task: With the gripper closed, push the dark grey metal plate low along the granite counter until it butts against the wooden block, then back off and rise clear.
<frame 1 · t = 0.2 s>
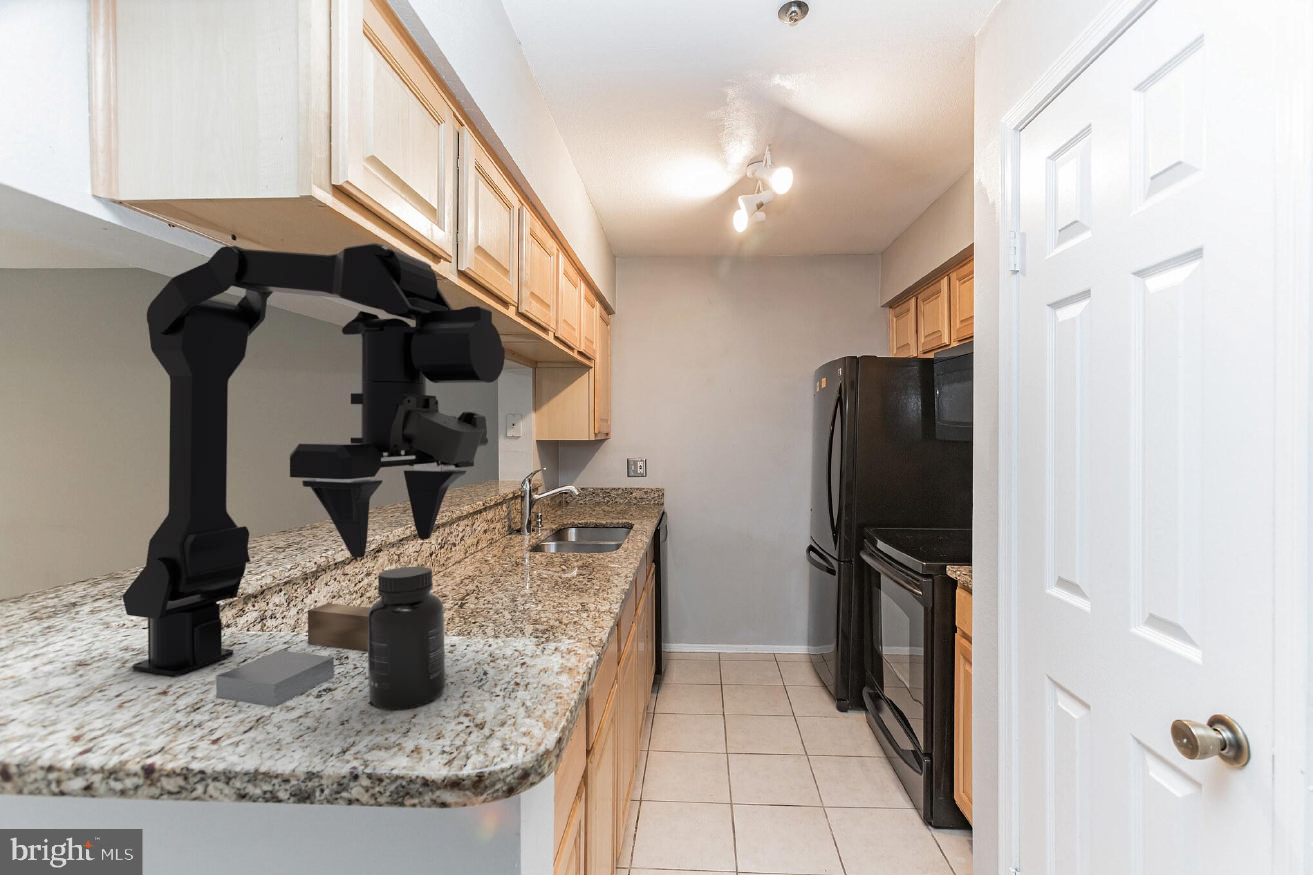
hand: (393, 547, 58), 14 cm above the counter, tool pointing down, fingers open, 9 cm apart
supplement bottle: (407, 697, 58), on the counter
grey metal plate: (277, 690, 60), on the counter
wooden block: (366, 645, 72), on the counter
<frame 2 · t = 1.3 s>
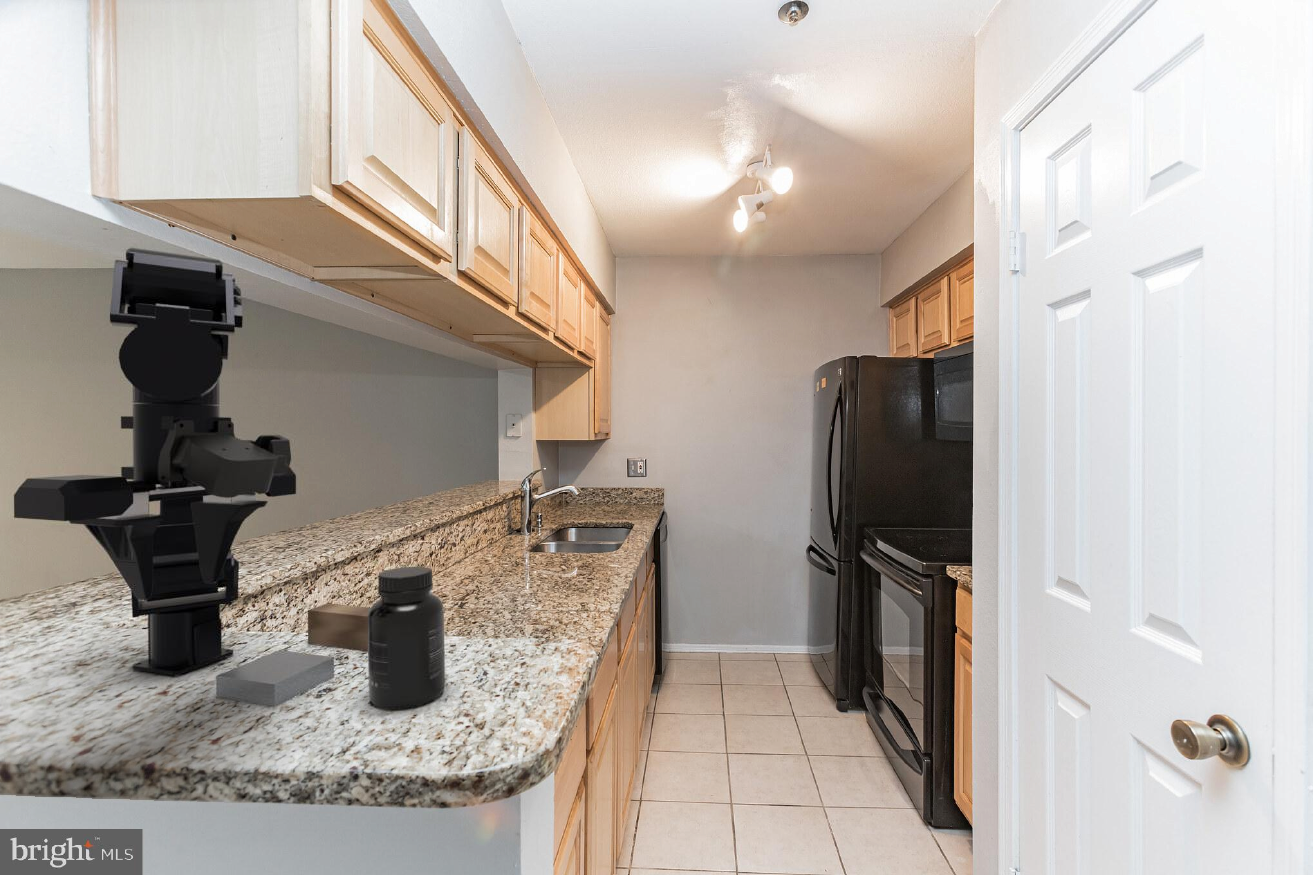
hand: (178, 590, 51), 12 cm above the counter, tool pointing down, fingers open, 5 cm apart
nothing on the counter moved.
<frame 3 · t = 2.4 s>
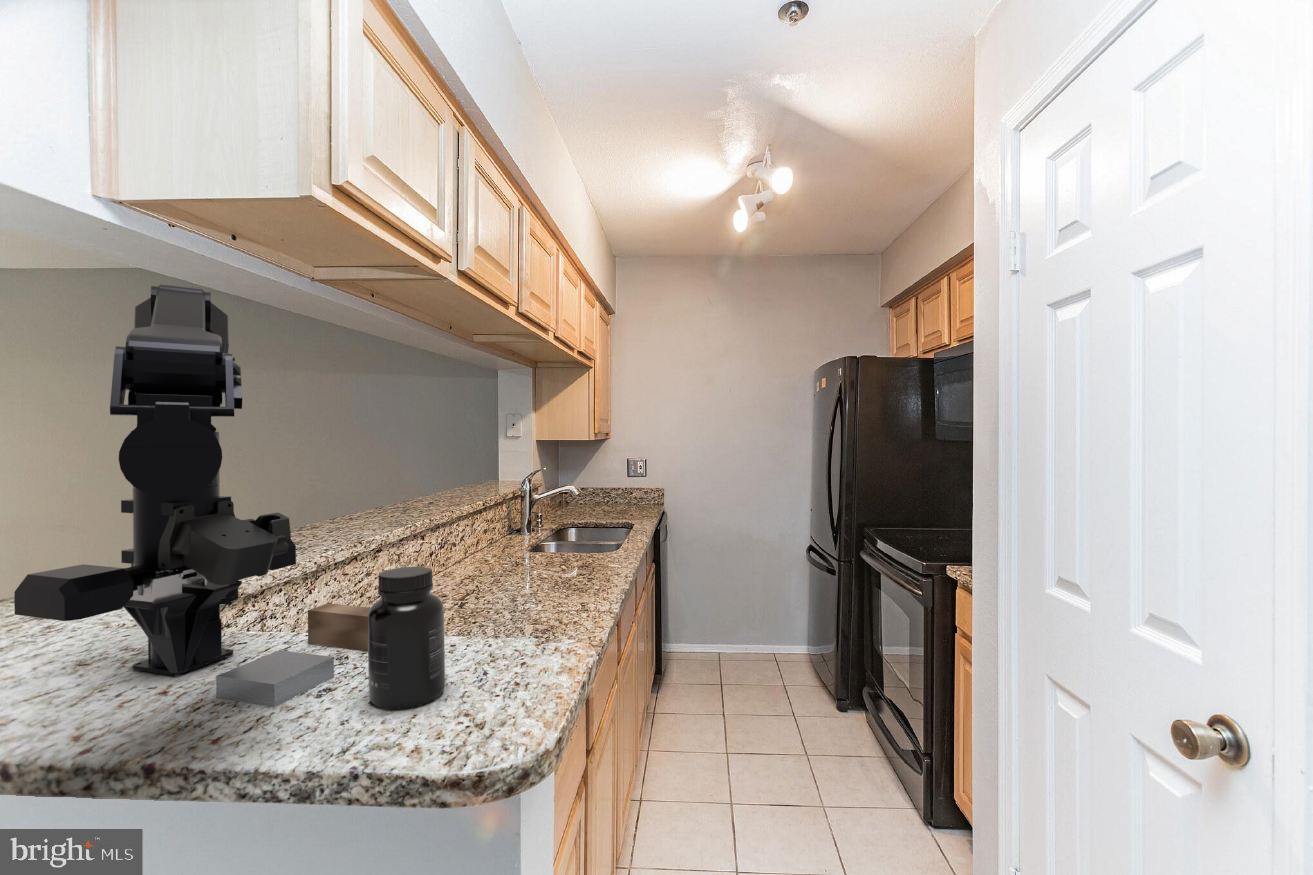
hand: (178, 671, 51), 5 cm above the counter, tool pointing down, fingers closed
nothing on the counter moved.
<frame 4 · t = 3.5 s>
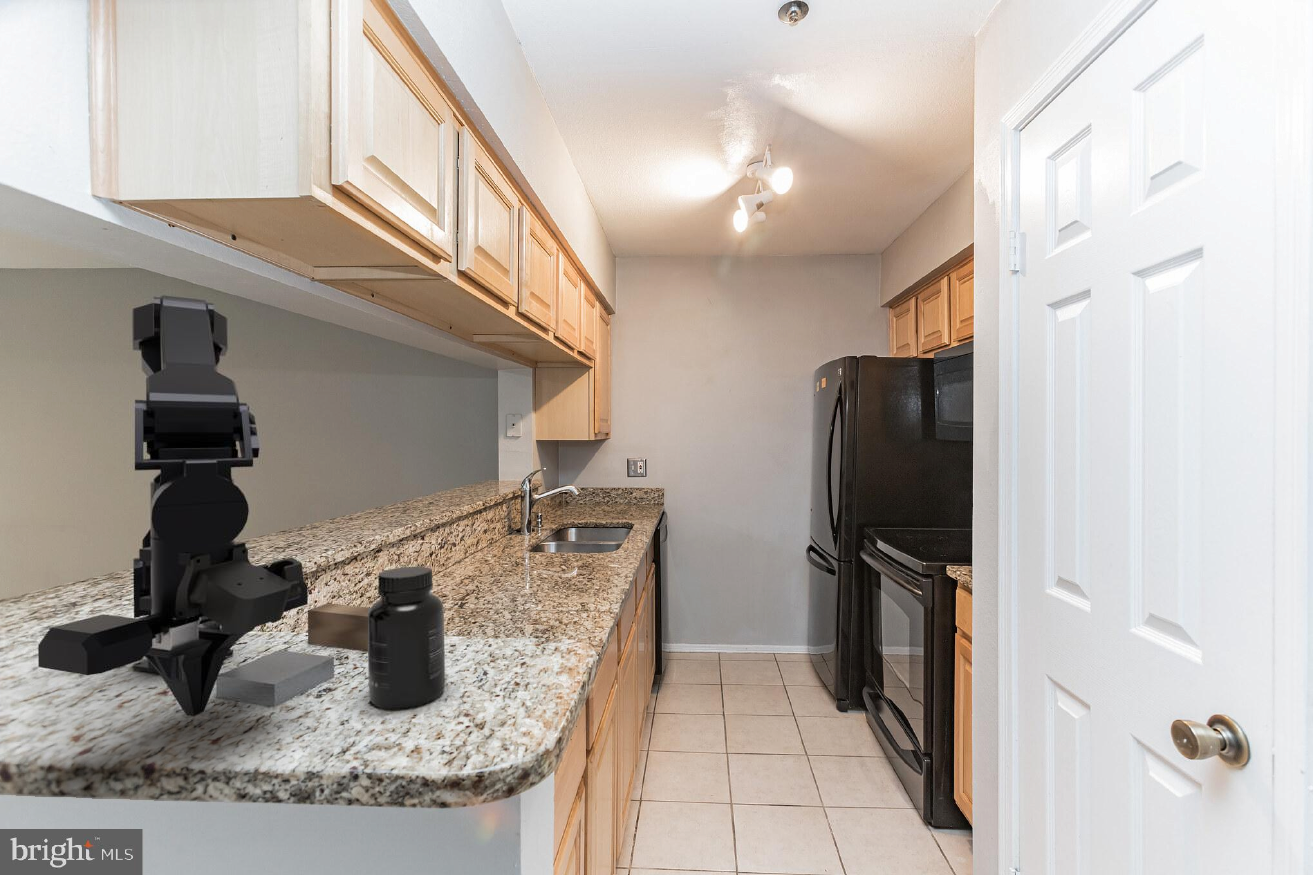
hand: (194, 713, 52), 1 cm above the counter, tool pointing down, fingers closed
nothing on the counter moved.
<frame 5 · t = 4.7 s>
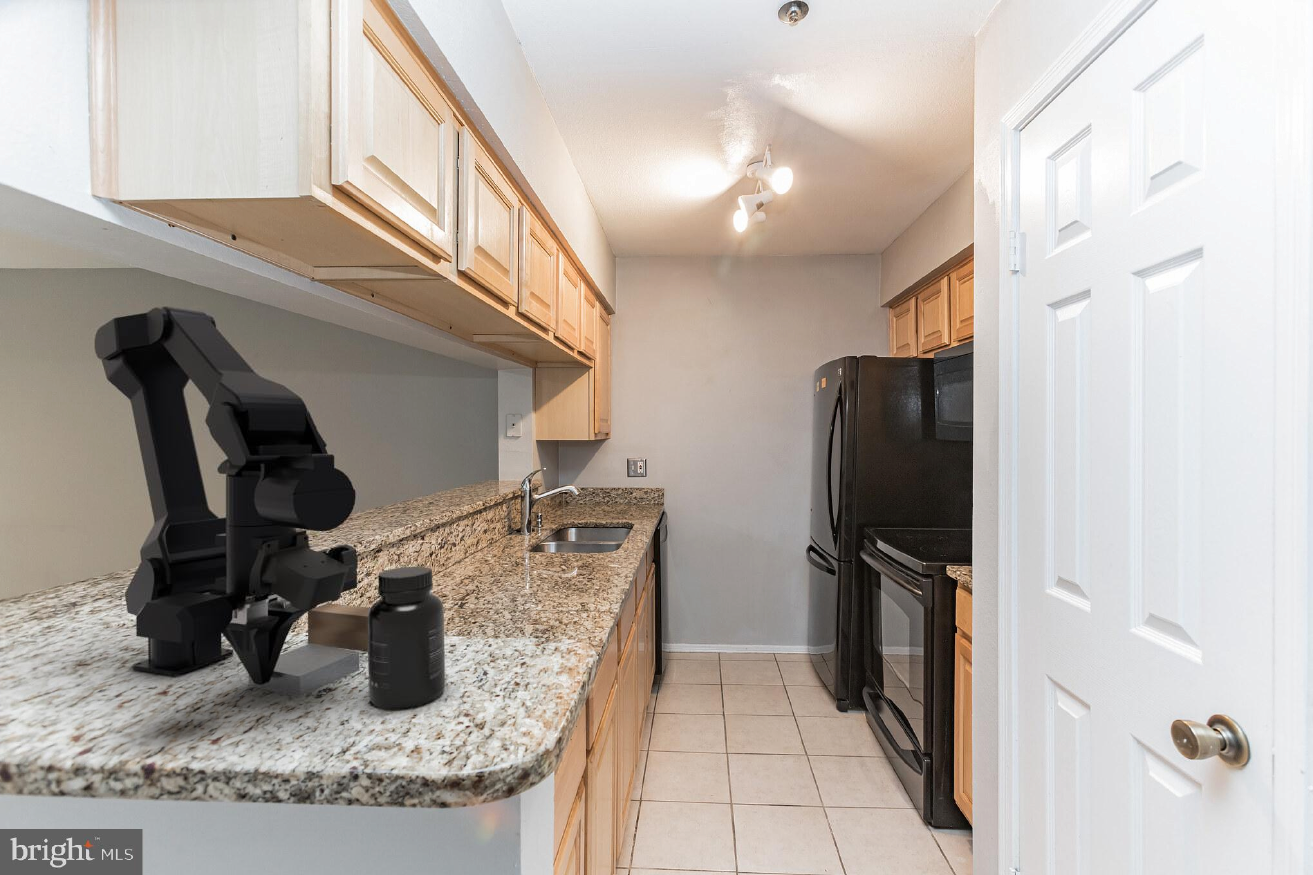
hand: (262, 683, 58), 1 cm above the counter, tool pointing down, fingers closed
grey metal plate: (305, 682, 62), on the counter
everything else where it was.
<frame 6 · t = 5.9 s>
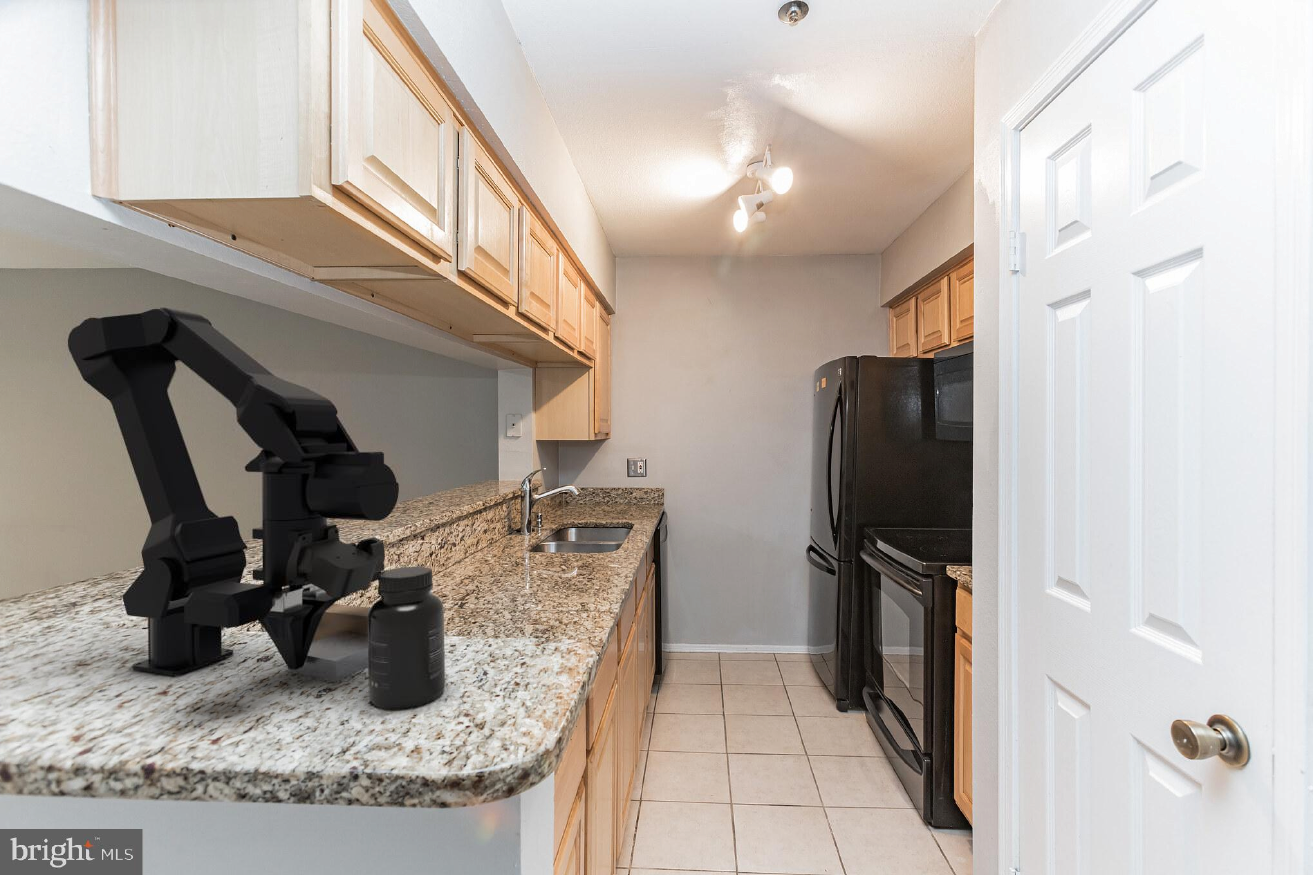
hand: (296, 668, 62), 1 cm above the counter, tool pointing down, fingers closed
grey metal plate: (340, 667, 66), on the counter
everything else where it was.
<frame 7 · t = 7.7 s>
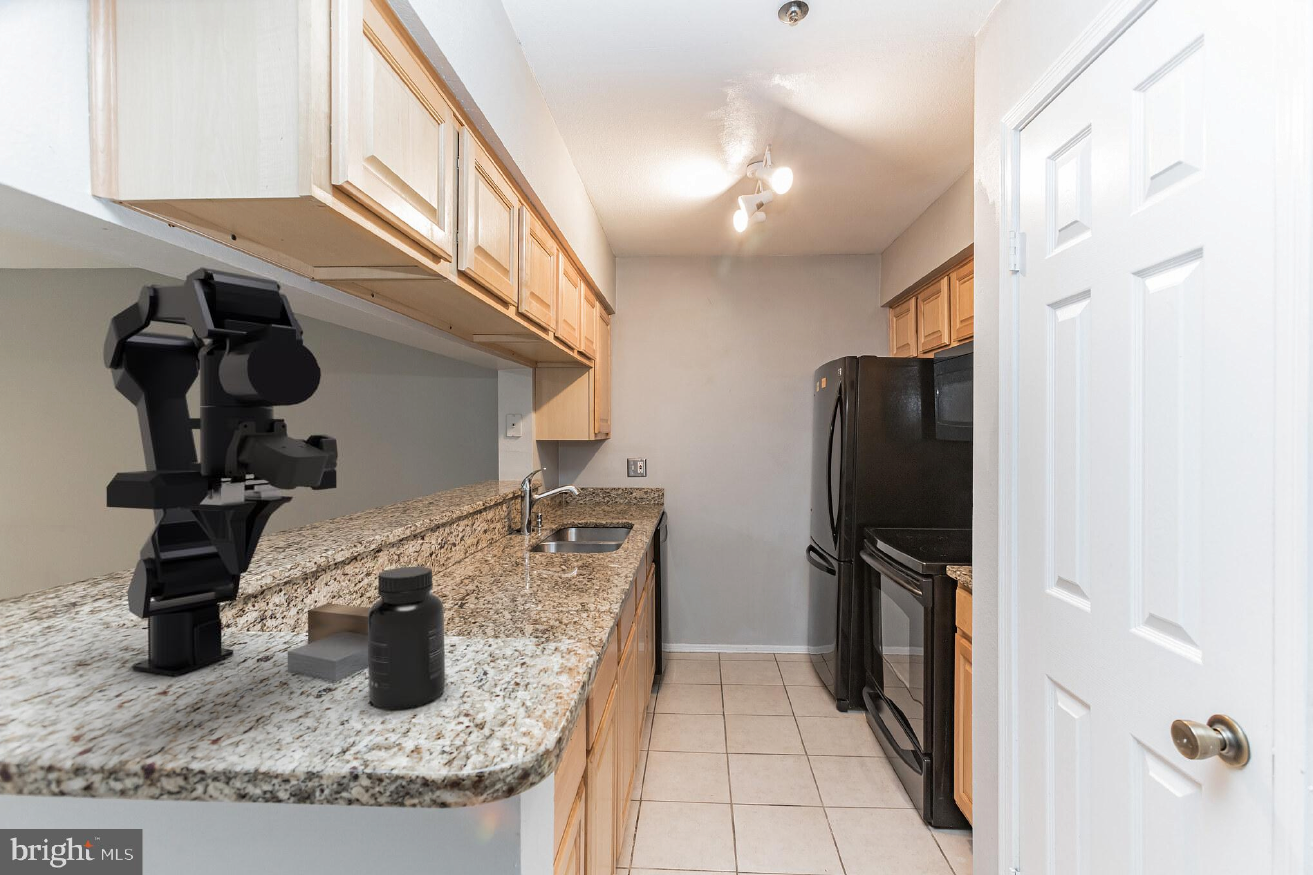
hand: (238, 573, 57), 12 cm above the counter, tool pointing down, fingers closed
nothing on the counter moved.
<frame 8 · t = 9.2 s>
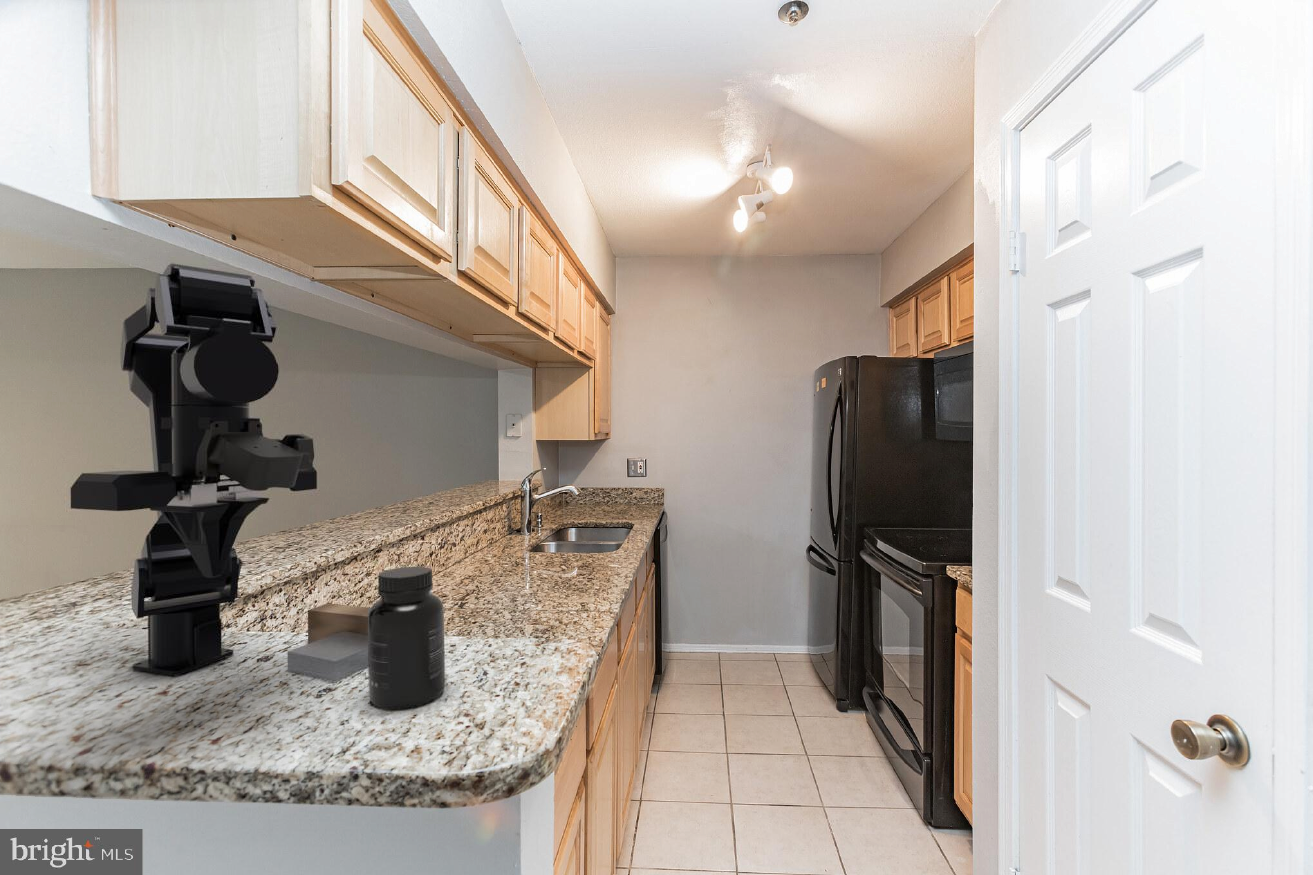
hand: (212, 576, 56), 12 cm above the counter, tool pointing down, fingers closed
nothing on the counter moved.
at the end: grey metal plate 1.6 cm from the target spot, on the counter; grey metal plate moved 6.7 cm from its start; supplement bottle moved 0.2 cm from its start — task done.
